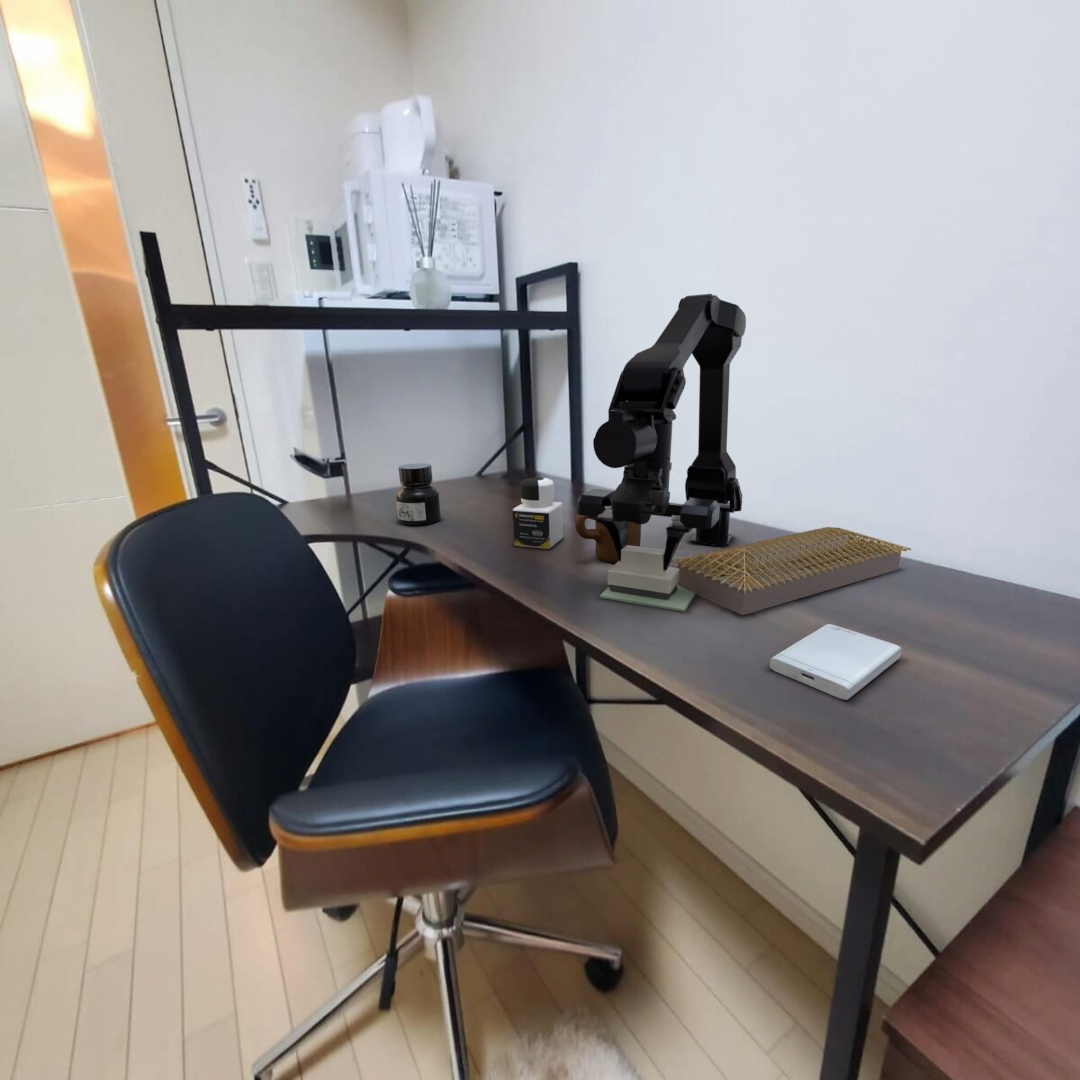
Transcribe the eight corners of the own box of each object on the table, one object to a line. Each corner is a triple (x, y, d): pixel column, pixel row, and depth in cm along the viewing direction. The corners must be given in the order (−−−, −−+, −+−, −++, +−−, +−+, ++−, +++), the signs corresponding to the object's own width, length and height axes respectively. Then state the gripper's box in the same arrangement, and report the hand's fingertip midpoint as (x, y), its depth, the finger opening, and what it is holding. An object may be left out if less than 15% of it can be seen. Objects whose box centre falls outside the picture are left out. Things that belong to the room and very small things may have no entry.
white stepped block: (619, 579, 87) (619, 541, 85) (678, 588, 83) (680, 548, 81) (607, 590, 82) (607, 551, 81) (669, 600, 78) (671, 559, 77)
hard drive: (827, 622, 68) (770, 655, 61) (902, 646, 62) (849, 686, 55) (825, 634, 69) (769, 669, 61) (900, 660, 63) (847, 702, 55)
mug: (588, 572, 91) (587, 515, 88) (564, 558, 98) (564, 505, 95) (649, 559, 96) (650, 504, 93) (623, 547, 103) (624, 496, 100)
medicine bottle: (513, 546, 105) (510, 482, 102) (528, 535, 111) (526, 474, 108) (549, 549, 103) (548, 484, 99) (563, 538, 109) (562, 476, 105)
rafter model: (823, 546, 100) (828, 512, 98) (907, 570, 88) (914, 532, 86) (667, 583, 85) (669, 543, 83) (742, 618, 72) (747, 573, 71)
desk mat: (621, 576, 89) (621, 573, 89) (699, 588, 84) (699, 585, 83) (599, 597, 81) (599, 594, 81) (684, 612, 76) (684, 608, 76)
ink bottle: (389, 522, 124) (383, 467, 120) (422, 513, 130) (417, 461, 127) (417, 529, 118) (412, 471, 114) (450, 519, 124) (446, 464, 121)
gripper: (560, 461, 74) (560, 574, 79) (706, 472, 66) (696, 597, 71) (593, 450, 84) (591, 551, 88) (724, 458, 75) (715, 569, 80)
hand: (643, 566), depth 81 cm, fingers closed on white stepped block, 6 cm apart
